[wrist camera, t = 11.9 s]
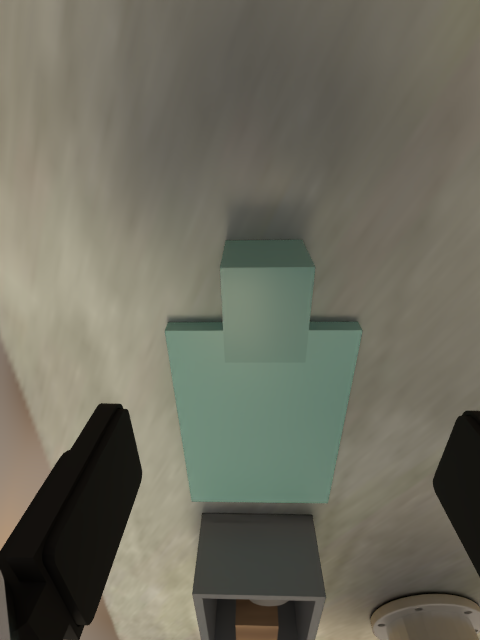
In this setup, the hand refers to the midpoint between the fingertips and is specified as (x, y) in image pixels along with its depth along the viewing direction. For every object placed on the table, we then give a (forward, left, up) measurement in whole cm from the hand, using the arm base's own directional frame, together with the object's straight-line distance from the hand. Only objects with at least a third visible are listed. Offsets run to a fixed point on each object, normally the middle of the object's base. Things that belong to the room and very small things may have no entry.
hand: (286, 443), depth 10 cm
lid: (-7, +4, -11) cm, 13 cm away
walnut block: (-30, +15, -10) cm, 35 cm away
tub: (-27, +13, -10) cm, 32 cm away
